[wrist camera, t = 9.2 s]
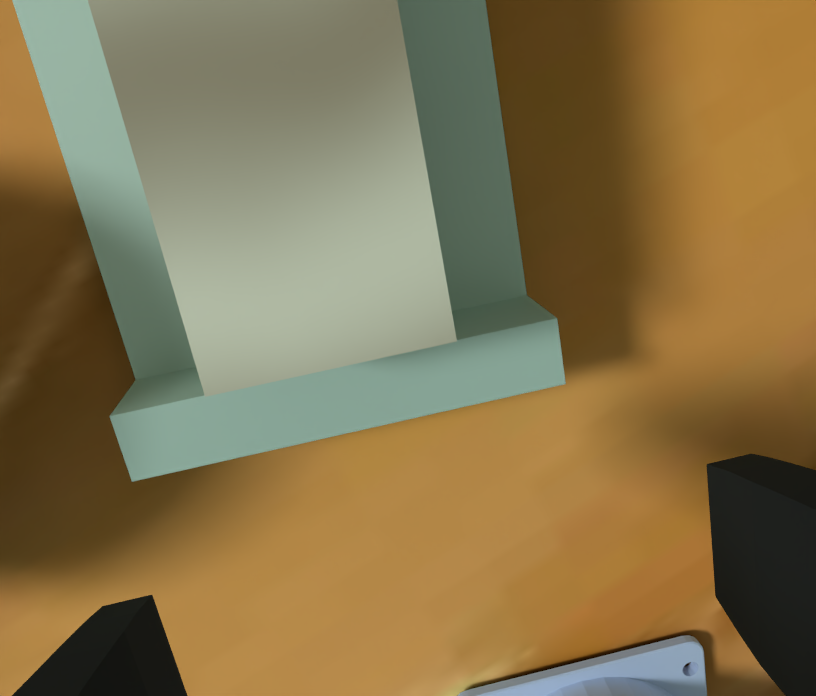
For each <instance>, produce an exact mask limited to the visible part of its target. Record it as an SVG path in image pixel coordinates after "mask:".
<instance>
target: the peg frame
mask: <svg viewBox="0 0 816 696" xmlns="http://www.w3.org/2000/svg"><path fill="white" fill-rule="evenodd" d="M12 1H13V4H14V7H15V10H16V13H17V16H18V19H19V22H20V25H21V28H22V31H23V34H24V37H25V41H26V44H27V47H28V50H29V53H30V56H31V59H32V62H33V65H34V68H35V71H36V74H37V78H38V81H39V84H40V87H41V90H42V93H43V96H44V99H45V102H46V105H47V108H48V111H49V114H50V118H51V121H52V124H53V127H54V130H55V133H56V136H57V139H58V142H59V145H60V148H61V151H62V155H63V158H64V161H65V164H66V167H67V170H68V173H69V176H70V179H71V182H72V185H73V188H74V191H75V195H76V198H77V201H78V204H79V207H80V210H81V213H82V216H83V219H84V222H85V225H86V228H87V231H88V235H89V238H90V241H91V244H92V247H93V250H94V253H95V256H96V259H97V262H98V265H99V268H100V272H101V275H102V278H103V281H104V284H105V287H106V290H107V293H108V296H109V299H110V302H111V305H112V308H113V312H114V315H115V318H116V321H117V324H118V327H119V330H120V333H121V336H122V339H123V342H124V345H125V349H126V352H127V355H128V358H129V361H130V364H131V367H132V370H133V373H134V376H135V379H136V380H135V382H134V383H133V384H132V386H131V387H130V389H129V390H128V391H127V393H126V394H125V396H124V397H123V398H122V400H121V401H120V402H119V404H118V405H117V407H116V408H115V409H114V411H113V412H112V414H111V415H110V419H111V422H112V425H113V428H114V431H115V434H116V437H117V439H118V442H119V445H120V448H121V451H122V454H123V457H124V460H125V463H126V466H127V469H128V472H129V475H130V477H131V480H132V482H133V481H138V480H142V479H146V478H151V477H155V476H160V475H164V474H169V473H173V472H177V471H182V470H186V469H191V468H195V467H200V466H204V465H208V464H213V463H217V462H222V461H226V460H231V459H235V458H239V457H244V456H248V455H253V454H257V453H262V452H266V451H270V450H275V449H279V448H284V447H288V446H293V445H297V444H302V443H306V442H310V441H315V440H319V439H324V438H328V437H333V436H337V435H341V434H346V433H350V432H355V431H359V430H364V429H368V428H372V427H377V426H381V425H386V424H390V423H395V422H399V421H403V420H408V419H412V418H417V417H421V416H426V415H430V414H434V413H439V412H443V411H448V410H452V409H457V408H461V407H465V406H470V405H474V404H479V403H483V402H488V401H492V400H496V399H501V398H505V397H510V396H514V395H519V394H523V393H527V392H532V391H536V390H541V389H545V388H550V387H554V386H558V385H563V384H566V383H565V375H564V367H563V360H562V352H561V344H560V336H559V328H558V321H557V318H556V317H555V316H554V315H552V314H551V313H550V312H548V311H547V310H546V309H544V308H543V307H542V306H541V305H539V304H538V303H537V302H535V301H534V300H533V299H531V298H530V297H529V296H527V292H526V285H525V278H524V271H523V264H522V257H521V250H520V243H519V235H518V228H517V221H516V214H515V207H514V200H513V193H512V186H511V179H510V172H509V164H508V157H507V150H506V143H505V136H504V129H503V122H502V115H501V108H500V100H499V93H498V86H497V79H496V72H495V65H494V58H493V51H492V44H491V36H490V29H489V22H488V15H487V8H486V1H485V0H397V2H398V8H399V13H400V19H401V25H402V31H403V36H404V42H405V48H406V53H407V59H408V65H409V70H410V76H411V82H412V88H413V93H414V99H415V105H416V110H417V116H418V122H419V127H420V133H421V139H422V145H423V150H424V156H425V162H426V167H427V173H428V179H429V184H430V190H431V196H432V202H433V207H434V213H435V219H436V224H437V230H438V236H439V242H440V247H441V253H442V259H443V264H444V270H445V276H446V281H447V287H448V293H449V299H450V304H451V310H452V316H453V321H454V327H455V333H456V338H457V342H452V343H448V344H443V345H439V346H434V347H430V348H425V349H421V350H416V351H412V352H407V353H402V354H398V355H393V356H389V357H384V358H380V359H375V360H371V361H366V362H361V363H357V364H352V365H348V366H343V367H339V368H334V369H330V370H325V371H321V372H316V373H311V374H307V375H302V376H298V377H293V378H289V379H284V380H280V381H275V382H271V383H266V384H261V385H257V386H252V387H248V388H243V389H239V390H234V391H230V392H225V393H220V394H216V395H211V396H207V397H205V395H204V392H203V388H202V385H201V382H200V378H199V375H198V371H197V368H196V365H195V361H194V358H193V354H192V351H191V348H190V344H189V341H188V338H187V334H186V331H185V327H184V324H183V321H182V317H181V314H180V311H179V307H178V304H177V300H176V297H175V294H174V290H173V287H172V283H171V280H170V277H169V273H168V270H167V267H166V263H165V260H164V256H163V253H162V250H161V246H160V243H159V240H158V236H157V233H156V229H155V226H154V223H153V219H152V216H151V212H150V209H149V206H148V202H147V199H146V196H145V192H144V189H143V185H142V182H141V179H140V175H139V172H138V169H137V165H136V162H135V158H134V155H133V152H132V148H131V145H130V141H129V138H128V135H127V131H126V128H125V125H124V121H123V118H122V114H121V111H120V108H119V104H118V101H117V98H116V94H115V91H114V87H113V84H112V81H111V77H110V74H109V70H108V67H107V64H106V60H105V57H104V54H103V50H102V47H101V43H100V40H99V37H98V33H97V30H96V26H95V23H94V20H93V16H92V13H91V10H90V6H89V3H88V0H12Z"/></svg>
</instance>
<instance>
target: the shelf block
mask: <svg viewBox="0 0 816 696" xmlns="http://www.w3.org/2000/svg"><path fill="white" fill-rule="evenodd" d="M88 3H89V6H90V10H91V13H92V16H93V20H94V23H95V26H96V30H97V33H98V37H99V40H100V43H101V47H102V50H103V54H104V57H105V60H106V64H107V67H108V70H109V74H110V77H111V81H112V84H113V87H114V91H115V94H116V98H117V101H118V104H119V108H120V111H121V114H122V118H123V121H124V125H125V128H126V131H127V135H128V138H129V141H130V145H131V148H132V152H133V155H134V158H135V162H136V165H137V169H138V172H139V175H140V179H141V182H142V185H143V189H144V192H145V196H146V199H147V202H148V206H149V209H150V212H151V216H152V219H153V223H154V226H155V229H156V233H157V236H158V240H159V243H160V246H161V250H162V253H163V256H164V260H165V263H166V267H167V270H168V273H169V277H170V280H171V283H172V287H173V290H174V294H175V297H176V300H177V304H178V307H179V311H180V314H181V317H182V321H183V324H184V327H185V331H186V334H187V338H188V341H189V344H190V348H191V351H192V354H193V358H194V361H195V365H196V368H197V371H198V375H199V378H200V382H201V385H202V388H203V392H204V395H205V397H207V396H211V395H216V394H220V393H225V392H230V391H234V390H239V389H243V388H248V387H252V386H257V385H261V384H266V383H271V382H275V381H280V380H284V379H289V378H293V377H298V376H302V375H307V374H311V373H316V372H321V371H325V370H330V369H334V368H339V367H343V366H348V365H352V364H357V363H361V362H366V361H371V360H375V359H380V358H384V357H389V356H393V355H398V354H402V353H407V352H412V351H416V350H421V349H425V348H430V347H434V346H439V345H443V344H448V343H452V342H457V338H456V333H455V327H454V321H453V316H452V310H451V304H450V299H449V293H448V287H447V281H446V276H445V270H444V264H443V259H442V253H441V247H440V242H439V236H438V230H437V224H436V219H435V213H434V207H433V202H432V196H431V190H430V184H429V179H428V173H427V167H426V162H425V156H424V150H423V145H422V139H421V133H420V127H419V122H418V116H417V110H416V105H415V99H414V93H413V88H412V82H411V76H410V70H409V65H408V59H407V53H406V48H405V42H404V36H403V31H402V25H401V19H400V13H399V8H398V2H397V0H88Z"/></svg>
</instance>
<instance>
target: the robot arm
mask: <svg viewBox="0 0 816 696" xmlns="http://www.w3.org/2000/svg"><path fill="white" fill-rule="evenodd" d="M707 476H708V491H709V506H710V521H711V536H712V550H713V565H714V580H715V595H716V598H717V599H718V601H719V603H720V604H721V606H722V607H723V609H724V610H725V612H726V614H727V615H728V617H729V618H730V620H731V622H732V623H733V625H734V626H735V628H736V629H737V631H738V633H739V634H740V636H741V637H742V639H743V640H744V642H745V643H746V644H747V646H748V647H749V649H750V650H751V652H752V653H753V655H754V656H755V658H756V659H757V661H758V662H759V664H760V665H761V666H762V668H763V669H764V670H765V671H766V672H767V674H768V675H769V676H770V677H771V679H772V680H773V681H774V682H775V683H776V685H777V686H778V687H779V688H780V689H781V691H782V692H783V693H784V694H785V695H786V696H816V470H812V469H809V468H805V467H802V466H799V465H795V464H792V463H788V462H785V461H781V460H777V459H773V458H769V457H765V456H760V455H755V454H748V455H744V456H740V457H735V458H731V459H727V460H723V461H718V462H714V463H710V464H707ZM689 662H691V663H690V664H689V665H688V666H686V667H684V666H685V665H686V664H687V663H689ZM12 696H187V693H186V691H185V688H184V685H183V682H182V679H181V676H180V673H179V671H178V668H177V665H176V662H175V659H174V656H173V653H172V651H171V648H170V645H169V642H168V639H167V636H166V633H165V630H164V628H163V625H162V622H161V619H160V616H159V613H158V610H157V608H156V605H155V602H154V599H153V596H152V595H149V596H144V597H140V598H136V599H132V600H127V601H123V602H119V603H115V604H110V605H106V606H102V607H101V608H100V609H99V610H98V611H97V612H96V613H94V614H93V615H92V616H91V617H90V618H89V619H88V620H87V621H86V622H85V623H83V624H82V625H81V626H80V627H79V628H78V629H77V630H76V631H75V632H74V633H73V634H72V635H71V636H70V637H69V638H68V639H67V640H66V641H65V642H64V643H63V644H62V645H61V646H60V647H59V648H58V649H57V650H56V651H55V652H54V653H53V654H52V655H51V656H50V657H49V659H48V660H47V661H46V662H45V663H44V664H43V665H42V666H41V667H40V668H39V669H38V670H37V671H36V672H35V673H34V674H33V675H32V676H31V677H30V678H29V679H28V680H27V681H26V682H25V683H24V684H23V685H22V686H21V687H20V688H19V689H18V690H17V691H16V692H15V693H14V694H13V695H12ZM458 696H707V686H706V673H705V660H704V650H703V647H702V645H701V644H700V643H699V642H698V640H697V639H696V638H695V637H693V636H690V635H685V636H680V637H676V638H672V639H668V640H664V641H660V642H656V643H652V644H648V645H644V646H640V647H636V648H632V649H628V650H624V651H620V652H616V653H612V654H608V655H604V656H600V657H596V658H592V659H588V660H584V661H580V662H576V663H572V664H568V665H564V666H561V667H557V668H553V669H549V670H545V671H541V672H537V673H533V674H529V675H525V676H521V677H517V678H513V679H509V680H505V681H501V682H497V683H493V684H489V685H485V686H481V687H477V688H473V689H469V690H466V691H463V692H461V693H460V694H459V695H458Z"/></svg>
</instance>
